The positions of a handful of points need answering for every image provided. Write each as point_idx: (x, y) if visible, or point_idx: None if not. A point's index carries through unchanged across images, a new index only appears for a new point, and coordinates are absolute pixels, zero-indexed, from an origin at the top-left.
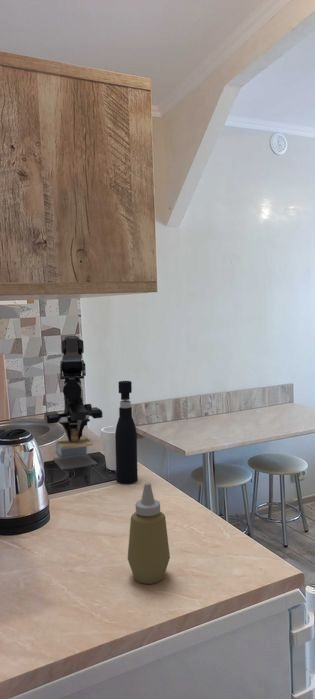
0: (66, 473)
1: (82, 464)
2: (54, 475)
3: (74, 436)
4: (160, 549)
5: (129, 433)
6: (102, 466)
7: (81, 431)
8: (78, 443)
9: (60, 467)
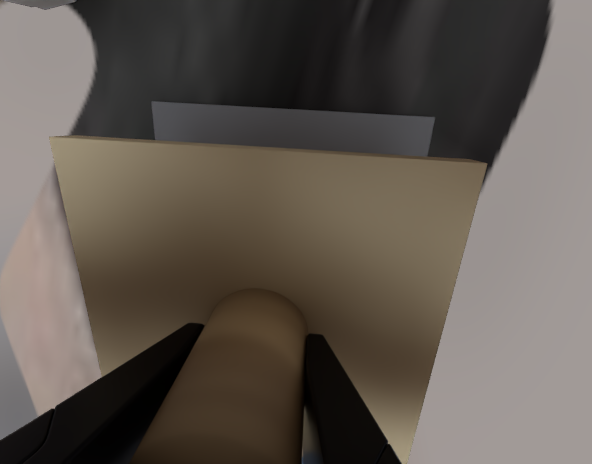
0: (429, 17)
1: (261, 128)
2: (531, 17)
3: (252, 340)
4: None
5: None
6: (127, 44)
7: (90, 397)
8: (238, 217)
9: (428, 149)
